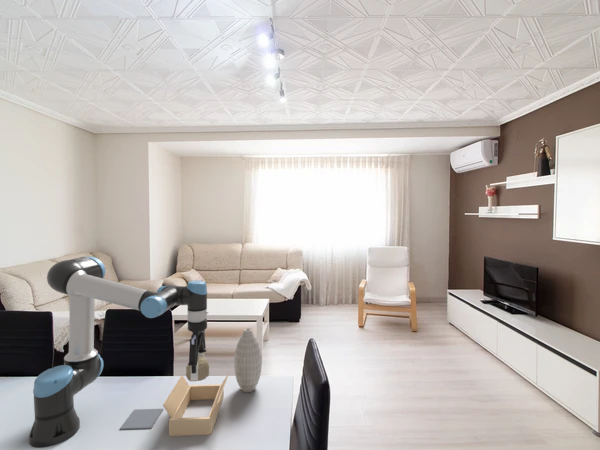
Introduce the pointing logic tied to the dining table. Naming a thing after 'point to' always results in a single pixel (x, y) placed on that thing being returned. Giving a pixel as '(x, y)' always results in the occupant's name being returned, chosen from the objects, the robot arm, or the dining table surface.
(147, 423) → the mat
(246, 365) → the vase
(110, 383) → the dining table surface
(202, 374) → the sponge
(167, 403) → the carton
